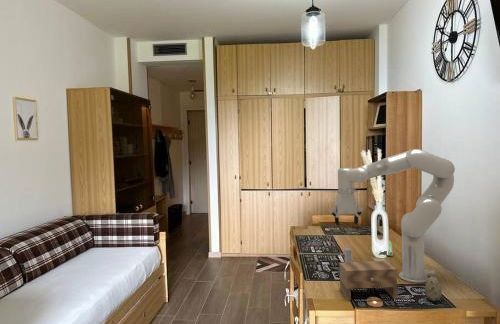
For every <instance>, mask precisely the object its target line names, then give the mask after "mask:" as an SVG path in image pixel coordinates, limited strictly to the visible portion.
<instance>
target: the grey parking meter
mask: <svg viewBox="0 0 500 324" xmlns="http://www.w3.org/2000/svg"><path fill="white" fill-rule="evenodd" d="M343 254H344V263H345V262H352V249H351V248H350V247H344V253H343Z"/></svg>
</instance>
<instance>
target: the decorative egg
mask: <svg viewBox="0 0 500 324" xmlns="http://www.w3.org/2000/svg"><path fill="white" fill-rule="evenodd" d="M424 293H425V296H426V298H427V299H428V300H430V301H432V302H438V301H440V299H442V298H441V297H442V293H443V292H442V287H441V283H440V282H439V280H438V279H437V277H435V276H429V277H428V280H427V282H425V286H424Z"/></svg>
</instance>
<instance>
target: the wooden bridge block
mask: <svg viewBox="0 0 500 324" xmlns="http://www.w3.org/2000/svg"><path fill="white" fill-rule="evenodd" d="M397 275H398V272H397V268H396V267H394V266H393V265H392V264H391V263H390V262H388V261H387V260H378V261H375V260H374V261H351V262H345V261H344V262H339V291H340V292H341V293H342V295H343V296H344V298H345V300H346V301H351V300H352V297H351V296H352V294H351V290H353V289H373V288H379V289H380V288H382V289H383V290H384V291H385V292H386V293H387V294H388V295H389V296H390V297H391V298H392V299H393V300H394V299H398V279H397V278H398V277H397Z"/></svg>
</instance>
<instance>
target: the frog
mask: <svg viewBox="0 0 500 324" xmlns="http://www.w3.org/2000/svg"><path fill="white" fill-rule="evenodd" d="M378 240H380V238H377V241H378ZM389 256H390V257H393V256H394V252H393V243H392V242H391V240H389V251H388V257H389Z"/></svg>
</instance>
